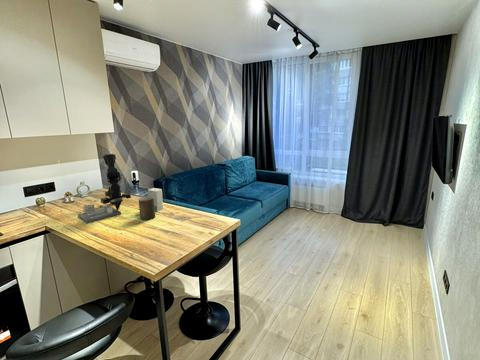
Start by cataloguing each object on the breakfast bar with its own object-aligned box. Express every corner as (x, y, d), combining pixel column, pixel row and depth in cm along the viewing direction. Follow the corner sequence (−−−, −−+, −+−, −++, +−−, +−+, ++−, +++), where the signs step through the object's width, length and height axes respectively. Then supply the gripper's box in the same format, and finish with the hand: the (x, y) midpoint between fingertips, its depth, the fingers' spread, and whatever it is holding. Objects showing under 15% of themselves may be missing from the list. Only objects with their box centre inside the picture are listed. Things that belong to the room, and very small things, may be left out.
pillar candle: (155, 219, 173) (153, 197, 170) (139, 221, 170) (137, 199, 167) (155, 214, 182) (153, 193, 179) (140, 216, 179) (138, 195, 176)
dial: (93, 210, 185) (92, 203, 184) (95, 211, 183) (93, 204, 182) (84, 212, 181) (83, 205, 179) (85, 213, 179) (84, 206, 178)
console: (110, 208, 195) (110, 206, 194) (121, 214, 183) (120, 211, 182) (77, 217, 179) (77, 214, 179) (86, 223, 167) (86, 220, 167)
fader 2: (110, 211, 182) (110, 206, 181) (112, 212, 180) (111, 207, 179) (107, 212, 180) (106, 207, 180) (109, 213, 178) (108, 208, 178)
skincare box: (148, 210, 190) (146, 189, 186) (154, 207, 196) (152, 187, 192) (158, 211, 187) (156, 191, 183) (163, 208, 193) (162, 188, 189)
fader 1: (106, 209, 187) (106, 204, 186) (108, 210, 185) (107, 205, 184) (103, 210, 185) (102, 205, 184) (105, 211, 183) (104, 206, 182)
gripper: (123, 184, 192) (125, 204, 196) (96, 189, 179) (99, 210, 183) (130, 186, 185) (132, 207, 189) (102, 192, 172) (105, 214, 175)
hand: (117, 209), depth 184 cm, fingers closed
